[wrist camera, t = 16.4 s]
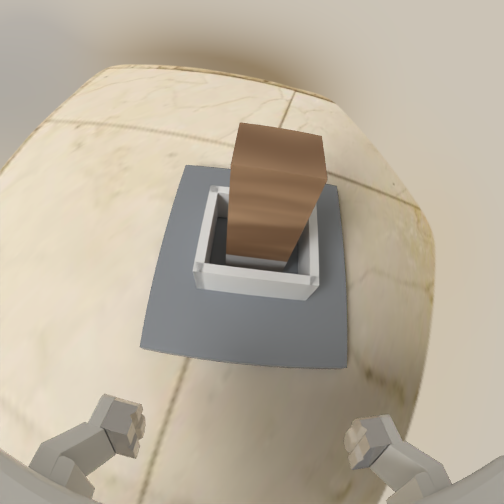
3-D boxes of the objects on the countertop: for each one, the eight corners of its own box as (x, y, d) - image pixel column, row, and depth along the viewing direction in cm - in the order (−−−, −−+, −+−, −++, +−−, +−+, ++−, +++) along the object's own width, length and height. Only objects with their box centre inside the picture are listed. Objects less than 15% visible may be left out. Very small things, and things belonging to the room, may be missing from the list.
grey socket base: (341, 368, 18) (367, 363, 14) (143, 348, 17) (125, 339, 14) (333, 192, 25) (347, 164, 22) (186, 172, 25) (183, 140, 21)
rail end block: (281, 273, 20) (327, 179, 11) (225, 267, 20) (231, 164, 11) (282, 237, 21) (321, 136, 12) (230, 231, 21) (239, 122, 12)
